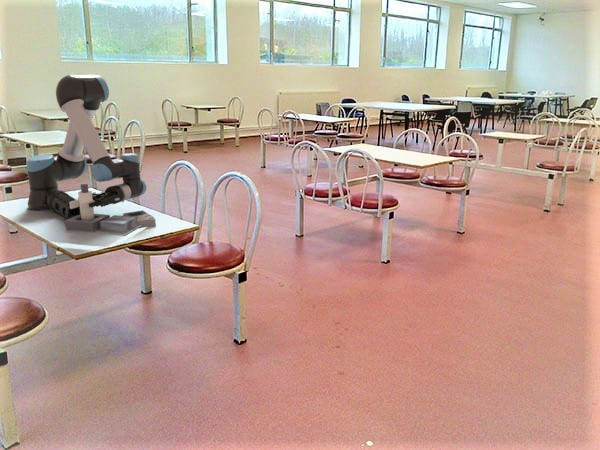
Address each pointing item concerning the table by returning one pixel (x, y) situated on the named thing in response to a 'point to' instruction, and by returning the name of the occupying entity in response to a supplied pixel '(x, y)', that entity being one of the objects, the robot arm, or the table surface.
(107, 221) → the stand
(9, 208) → the table surface
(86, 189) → the white bottle
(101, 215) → the socket block
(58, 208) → the muzzle brake
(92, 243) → the table surface
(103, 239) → the table surface
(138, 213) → the handheld gaming device
